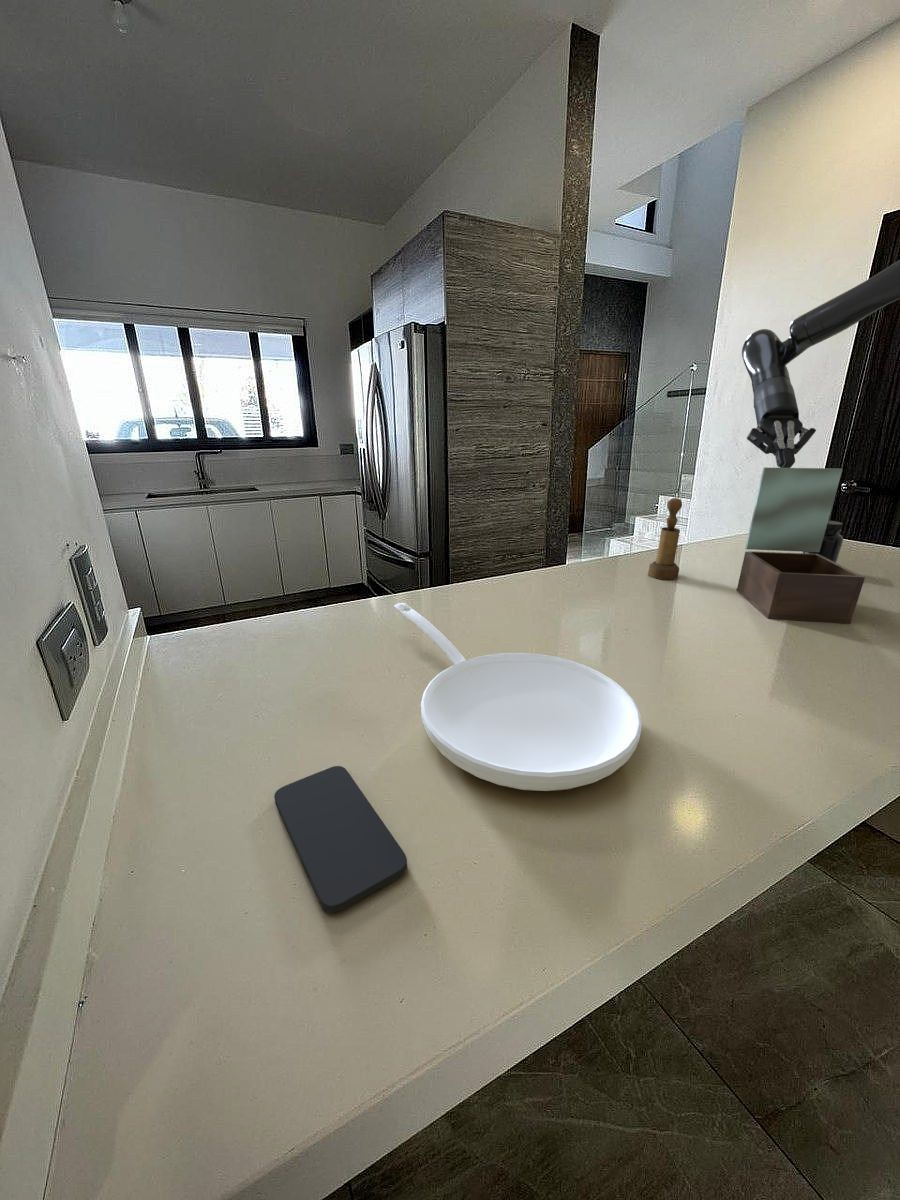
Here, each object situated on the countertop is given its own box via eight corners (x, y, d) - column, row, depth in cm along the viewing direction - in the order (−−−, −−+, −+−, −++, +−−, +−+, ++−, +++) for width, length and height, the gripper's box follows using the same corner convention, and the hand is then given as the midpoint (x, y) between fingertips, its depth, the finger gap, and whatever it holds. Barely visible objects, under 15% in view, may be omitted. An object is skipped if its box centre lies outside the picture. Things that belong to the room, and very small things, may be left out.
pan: (517, 852, 41) (521, 794, 39) (329, 656, 75) (325, 619, 73) (684, 746, 54) (694, 698, 52) (460, 620, 88) (460, 588, 86)
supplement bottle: (798, 572, 115) (811, 522, 110) (798, 565, 120) (811, 517, 116) (833, 577, 111) (849, 526, 107) (832, 570, 116) (847, 521, 112)
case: (850, 623, 86) (865, 577, 83) (767, 618, 88) (779, 573, 85) (806, 594, 100) (817, 553, 97) (736, 590, 103) (745, 550, 100)
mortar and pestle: (671, 581, 108) (685, 501, 102) (643, 576, 112) (655, 498, 106) (681, 575, 113) (695, 498, 106) (654, 569, 117) (666, 495, 110)
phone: (342, 762, 51) (413, 863, 39) (343, 768, 51) (413, 871, 39) (270, 791, 47) (325, 912, 35) (271, 797, 47) (326, 920, 35)
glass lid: (842, 468, 91) (840, 468, 92) (764, 467, 93) (763, 467, 94) (819, 552, 97) (817, 551, 98) (746, 549, 99) (745, 548, 100)
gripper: (749, 391, 103) (759, 454, 96) (817, 390, 101) (833, 454, 94) (735, 417, 110) (744, 478, 103) (799, 417, 108) (812, 479, 101)
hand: (787, 466), depth 98 cm, fingers closed
